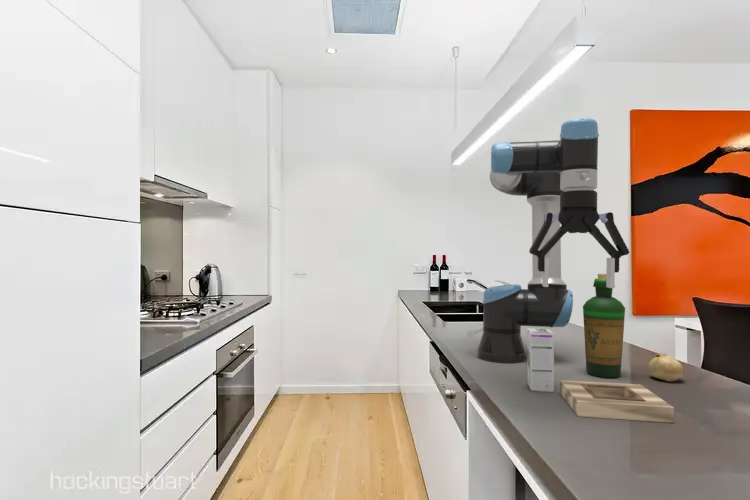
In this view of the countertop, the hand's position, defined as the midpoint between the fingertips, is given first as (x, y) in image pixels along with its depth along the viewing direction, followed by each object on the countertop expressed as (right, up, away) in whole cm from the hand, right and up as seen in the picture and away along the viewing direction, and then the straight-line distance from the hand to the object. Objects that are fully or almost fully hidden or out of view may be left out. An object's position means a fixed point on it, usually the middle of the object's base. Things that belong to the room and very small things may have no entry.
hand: (577, 287), depth 99 cm
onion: (+34, -27, +22) cm, 48 cm away
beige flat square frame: (+7, -26, 0) cm, 27 cm away
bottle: (+19, -27, +26) cm, 42 cm away
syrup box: (-4, -27, +13) cm, 30 cm away
